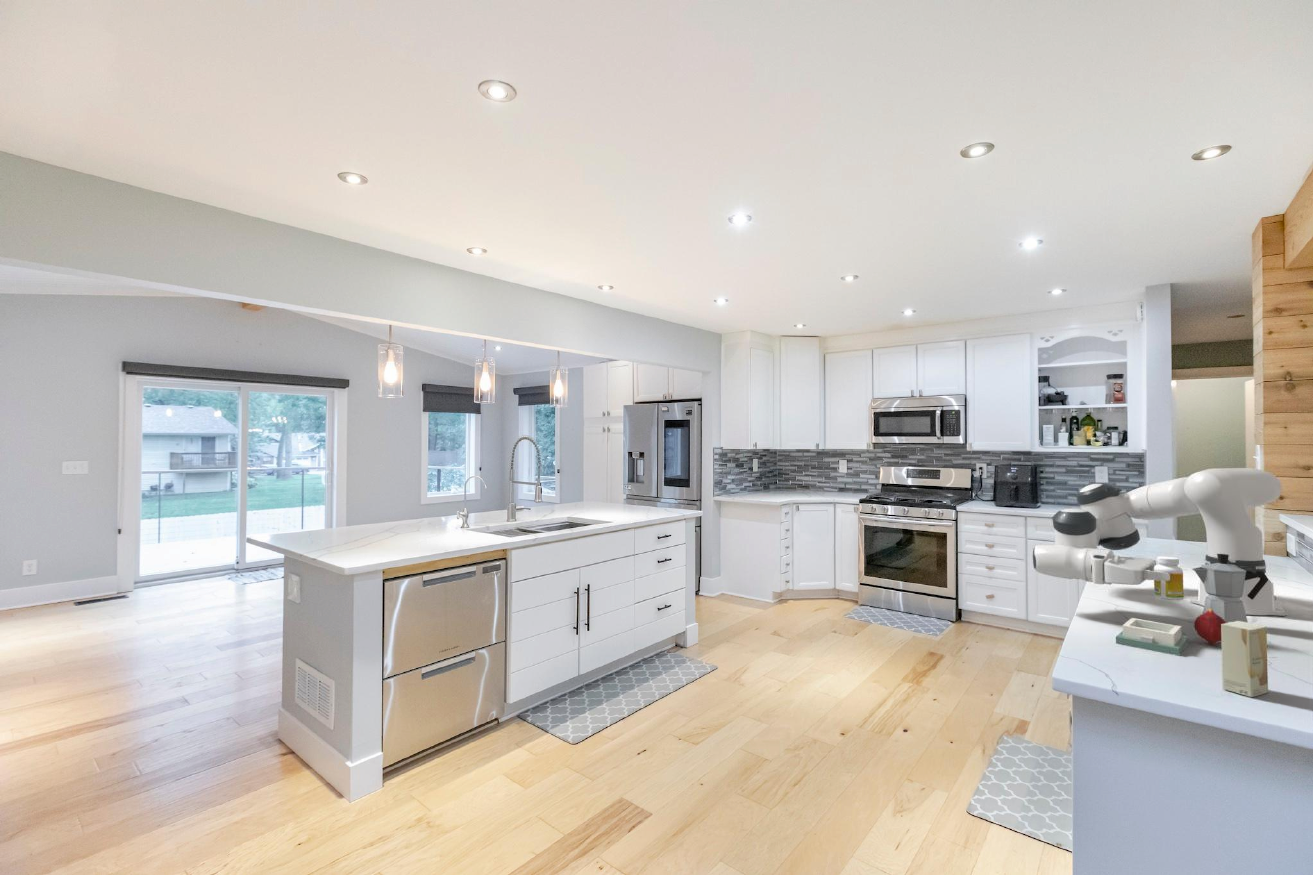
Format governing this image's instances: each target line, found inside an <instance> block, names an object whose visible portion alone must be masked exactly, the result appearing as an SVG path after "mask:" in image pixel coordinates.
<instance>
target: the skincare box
mask: <svg viewBox="0 0 1313 875" xmlns="http://www.w3.org/2000/svg"><path fill="white" fill-rule="evenodd" d="M1267 629H1268V628H1267V626H1266V625H1265V626H1264V625H1259V624H1257V623H1251V622H1248V623H1247V622H1242V621H1235V622H1228V623H1225V624H1221V637H1222V641H1221V668H1222V669H1221V674H1222V675H1221V676H1222V683H1221V684H1222V690H1225V691H1228V692H1229V691H1230V692H1232V693H1237V694H1239V695H1243V696H1245V697H1249V698H1253V697H1257V696H1262V695H1265V694H1267V693H1268V692H1269V681H1268V680H1269V676H1268V673H1269V672H1268V637H1267V636H1268V635H1267Z"/></svg>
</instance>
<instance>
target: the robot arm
mask: <svg viewBox="0 0 1313 875" xmlns="http://www.w3.org/2000/svg"><path fill="white" fill-rule="evenodd" d="M1282 489H1283V488H1282V483H1281V481H1280V480H1279V478H1278V477H1277V476H1276V475H1275V474H1273V473H1271V472H1269V471H1266V470H1263V469H1258V468H1253V467H1234V468H1233V467H1230V468H1229V467H1228V468H1227V467H1224V468H1221V467H1220V468H1207V469H1203V470H1200V471H1197V472H1194V473H1192V474H1190V475H1189V476H1184V477H1179V478H1173V479H1169V480H1165V481H1158V482H1155V483H1151V484H1146V485H1143V486H1140V487H1138V488H1135V489H1132V490H1130V491H1128V492H1125V493H1121V492H1122V491H1123V490H1122V488H1120V487H1115V486H1113V485H1110V484H1107V483H1103V482H1102V483H1092V484H1091V483H1090V484H1089V485H1086V486H1084V487H1082V488H1081V489H1080V490H1078V491H1077V493H1076V494H1075V495H1076V501H1077V504H1078V505H1079V506H1080V508H1065V509H1061V510H1059V511H1057V512H1056V513H1055V514H1054V515H1053V516H1052V518H1051V519H1052V520H1051V521H1052V526H1053V534H1054V544H1036V545H1035V546H1034V547H1033V549H1032V550H1033V551H1032V563H1033V564H1032V565H1033V568H1034V570H1035V572H1037V573H1039V574H1042V575H1046V576H1051V577H1054V578H1055V577H1056V578H1060V579H1067V580H1073V579H1074V580H1082V581H1085V582H1088V583H1093V584H1095V585H1110V586H1111V585H1112V584H1115V585H1116V584H1117V585H1127V586H1128V585H1129V586H1133V585H1134V586H1135V585H1136V586H1137V585H1141V584H1142V583H1144V582H1145V581H1148V580H1149V581H1154V580H1165V581H1169V580H1170V579H1171V574H1170V573H1169V572H1156V571H1154V567H1155V566H1156V565H1157V560H1155V559H1154V558H1153V559H1152V558H1147V557H1146V558H1145V557H1132V556H1120V555H1115V554H1114V551H1123V550H1128V549H1130V548H1132V547H1134V546H1135V545H1137V544H1138V543H1139V542H1140V540H1141V539H1140V538H1141V537H1140V533H1139V530H1138V528H1136V526H1135V523H1134V521H1133V519H1135V520H1145V521H1147V520H1148V521H1149V520H1153V521H1154V520H1163V519H1171V518H1177V517H1178V518H1179V517H1184V516H1191V515H1201V517H1202V521H1203V523H1204V527H1205V532H1206V549H1207V550H1206V552H1207V554H1206V555H1205V559H1204V562H1205V563H1204V565H1206V564H1214V563H1219V561H1218V557H1217V554H1227V555H1229V557H1228V562H1227V564H1230V565H1233V566H1237V567H1240V566H1245V567H1248V568H1252V569H1257V570H1260V571H1263V572H1264V573H1265V574H1266V573H1267V571H1266V569H1267V564H1266V561H1265V559H1264V552H1263V551H1264V550H1263V547H1264V546H1263V532H1262V530H1261V528H1259V527H1258V526H1257V525H1256V524H1255V523H1254V522H1253V520H1252V518H1251V516H1250V513H1249V509H1250V508H1257V507H1262V506H1265V505H1268V504H1270V503H1272V502H1275V501H1276V500H1278V499H1279V497H1280V496H1281V494H1282V491H1283V490H1282ZM1098 546H1101V547H1102V548H1098ZM1259 580H1260V578H1258V577H1257V578H1253V579H1250V580H1246V581H1245V582H1244V589H1243V596H1242V597H1240V600H1241V601H1243V605H1244V609H1245V613H1246V615H1251V616H1281V617H1283V616H1284V617H1285V616H1287V615H1286V611H1285V610H1284V609H1283V607H1282V606H1280V604H1279V603H1277V601H1276V600H1277V596H1276V595H1275V588H1274V583H1273V582H1272V581H1271V580H1270V579H1269V580H1268V581H1267V582H1266V584H1265V585H1264V586H1263V587H1262V589H1261V590H1260V591H1259V593H1258V594H1257V595H1256V596H1255V598H1254V599H1253V600H1252V599H1250V598H1249V597H1248V596H1247V595H1248V594H1249V593H1250V591H1251V590H1252V589H1253V588H1254V586H1255V585H1256V584H1257V583H1258V581H1259ZM1197 587H1198V591H1197V592H1198V594H1197V596H1194V597H1192V598H1190V600H1189V601H1190V603H1192V604H1197V605H1201V606H1203V607H1204V604H1205V599H1206V597H1207V596H1208V593H1206V591H1205V587H1204V584H1203V582H1202V581H1201V579H1200V578H1199V577H1198V586H1197Z"/></svg>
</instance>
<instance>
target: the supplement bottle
mask: <svg viewBox="0 0 1313 875" xmlns="http://www.w3.org/2000/svg"><path fill="white" fill-rule="evenodd" d="M1156 559H1157V560H1156V563H1158V564H1156V566H1155V567H1154V571H1156V572H1169V573H1170V574H1171V579H1170V580H1169V581H1165V580H1153V586H1154V588H1153V589H1154V590H1153V591H1154V596H1155V597H1156V598H1160V599H1162V600H1170V601H1181V600H1184V597H1185V596H1184V595H1185V594H1184V571H1183V569H1182V568H1181V567H1179V566H1178V565H1179V563H1180V559H1179V558H1178V557H1173V556H1157V557H1156Z"/></svg>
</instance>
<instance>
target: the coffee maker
mask: <svg viewBox="0 0 1313 875" xmlns="http://www.w3.org/2000/svg"><path fill="white" fill-rule="evenodd" d="M1217 557H1218V561H1219V563H1214V564H1206V565H1205V564H1201V566H1198V567H1193V568H1191V570H1192V571H1194V572H1195V574H1196V575H1197V577H1198V579H1199V578H1200V579H1201V581H1202V582H1203V584H1204V587H1205V591H1206V593H1208V596H1207V597H1206V599H1205V604H1204V606H1203V611H1202V614H1204V613H1206V612H1207V611H1208V609H1209V608H1210V609H1212V610H1213V612H1214V613H1215V614H1217V615H1218V616H1220V617H1221V618H1222V619H1223V620H1224V621H1225V622H1226V623H1228V622H1235V621H1242V622H1247V623H1249V622H1248V617H1247V614H1246V613H1245V609H1244V605H1243V601H1241V600H1240V597H1242V596H1243V589H1244V582H1245V581H1246V580H1250V579H1253V578H1257V577H1258V578H1260V580H1259V581H1258V583H1257V584H1256V585H1255V586H1254V588H1253V589H1252V590H1251V591H1250V593H1249V594H1248V595H1247V596H1248V597H1249V598H1250V599H1252V600H1253V599H1254V598H1255V596H1256V595H1257V594H1258V593H1259V591H1260V590H1261V589H1262V587H1263V586H1264V585H1265V584H1266V582H1267V581H1268V580H1270V579H1269V578H1268V576H1267V574H1266V573H1264V572H1263V571H1260V570H1257V569H1252V568H1248V567H1245V566H1240V567H1237V566H1233V565H1230V564H1227V562H1228V557H1229V555H1227V554H1217Z"/></svg>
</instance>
